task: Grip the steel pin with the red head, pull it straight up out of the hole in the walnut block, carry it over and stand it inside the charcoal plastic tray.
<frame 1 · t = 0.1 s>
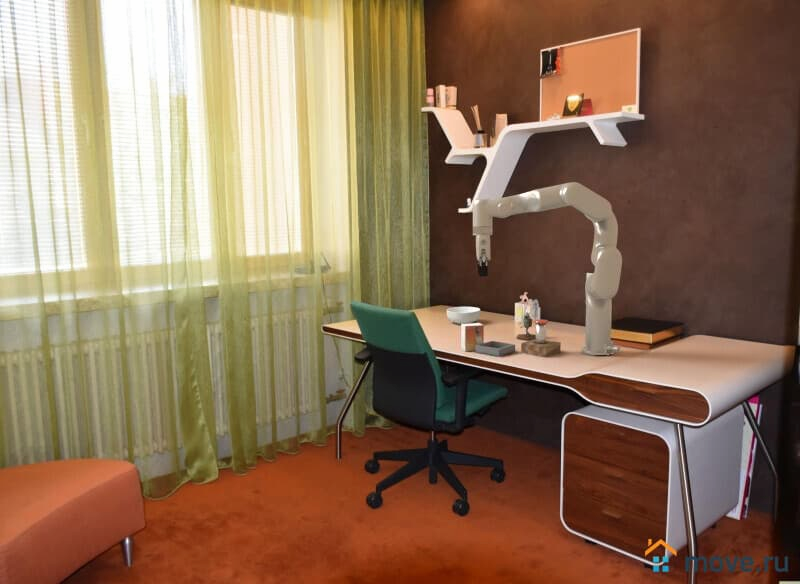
hand: (482, 275, 255), 31 cm above the table, tool pointing down, fingers open, 9 cm apart
small box: (472, 350, 265), on the table
pin: (541, 336, 257), in the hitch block
tray: (495, 352, 259), on the table
cereal bowl: (463, 323, 322), on the table
bonsai tree: (528, 338, 285), on the table
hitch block: (540, 352, 258), on the table
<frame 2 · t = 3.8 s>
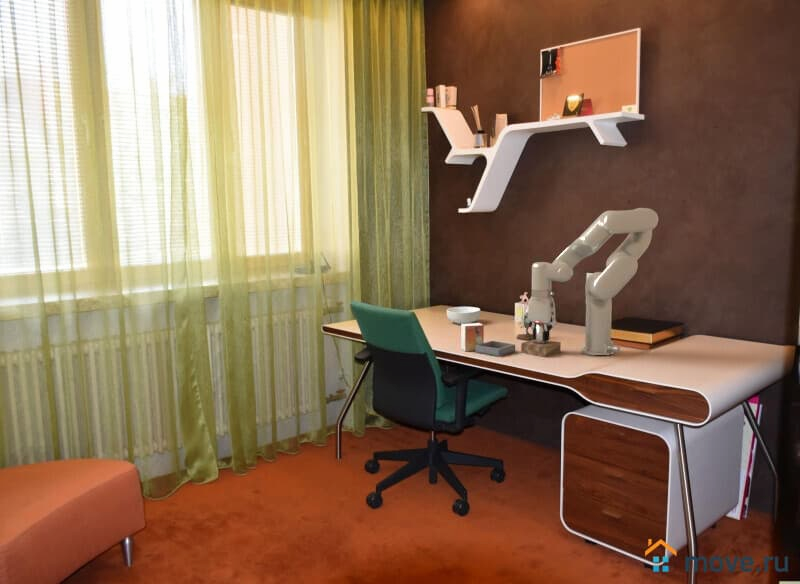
hand: (540, 339, 257), 5 cm above the table, tool pointing down, fingers closed on pin, 4 cm apart
pin: (540, 336, 257), in the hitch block, touching gripper
everything else where it was.
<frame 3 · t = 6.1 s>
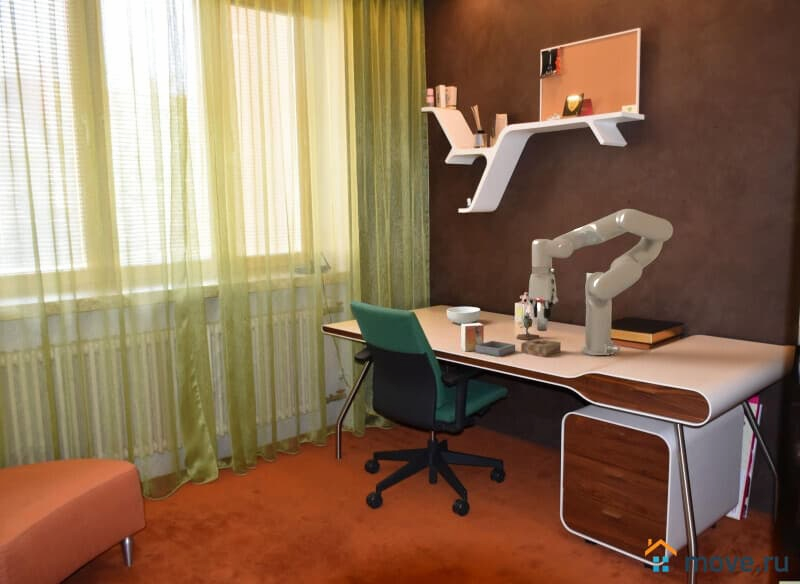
hand: (542, 316, 256), 14 cm above the table, tool pointing down, fingers closed on pin, 4 cm apart
pin: (542, 314, 255), point 15 cm above the table, touching gripper
everything else where it was.
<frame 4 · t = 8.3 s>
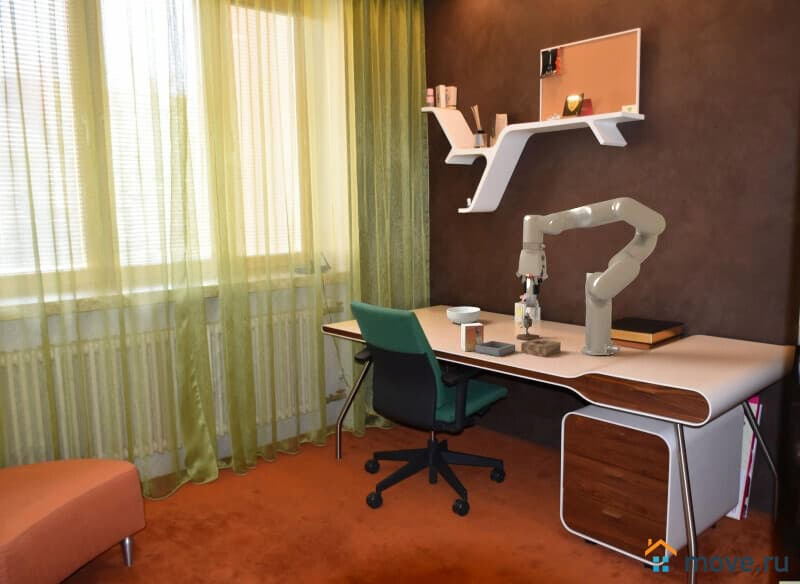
hand: (531, 293, 255), 24 cm above the table, tool pointing down, fingers closed on pin, 4 cm apart
pin: (531, 290, 255), point 25 cm above the table, touching gripper
everything else where it was.
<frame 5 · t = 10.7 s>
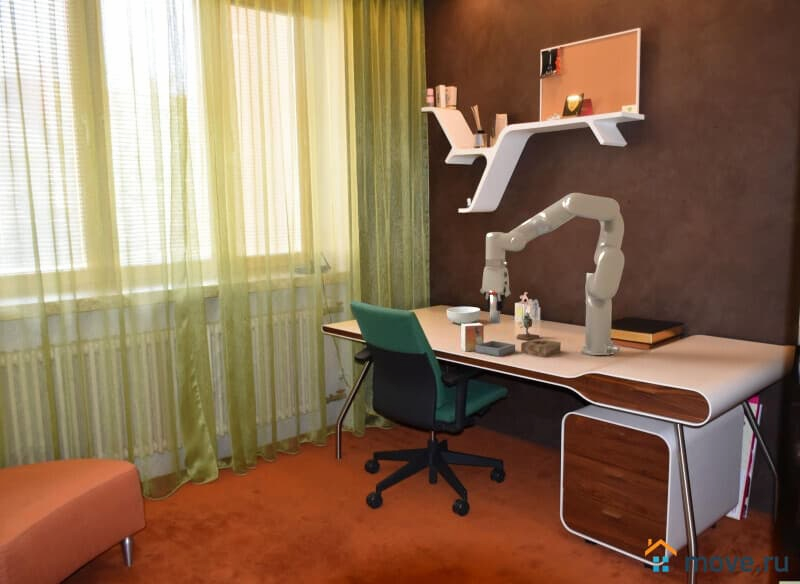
hand: (494, 309, 257), 17 cm above the table, tool pointing down, fingers closed on pin, 4 cm apart
pin: (494, 306, 257), point 18 cm above the table, touching gripper
everything else where it was.
when the fingers open (7 cm above the table, at t = 12.7 s): pin drops 1 cm, resting on tray.
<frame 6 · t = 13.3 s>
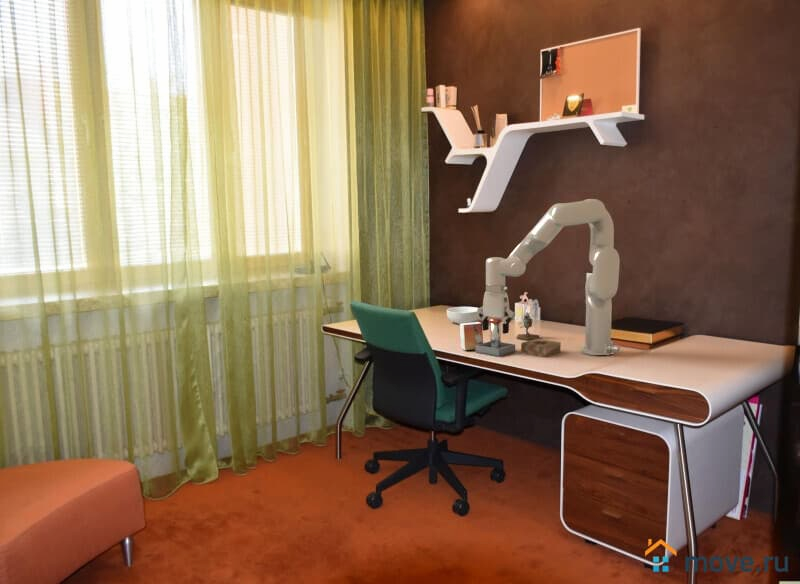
hand: (495, 331, 258), 8 cm above the table, tool pointing down, fingers open, 9 cm apart
small box: (472, 349, 265), on the table, touching gripper
pin: (495, 335, 259), in the tray, point 7 cm above the table
everything else where it was.
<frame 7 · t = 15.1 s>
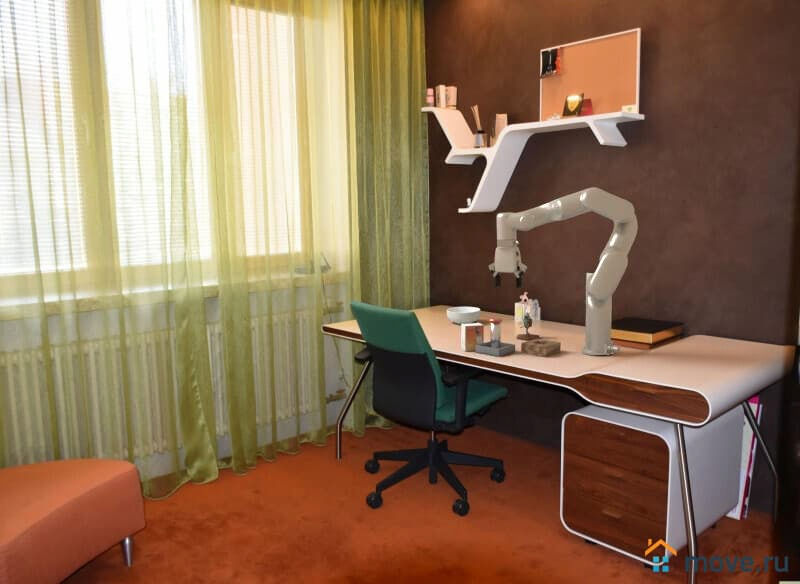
hand: (507, 286, 260), 26 cm above the table, tool pointing down, fingers open, 9 cm apart
small box: (472, 350, 265), on the table
everything else where it was.
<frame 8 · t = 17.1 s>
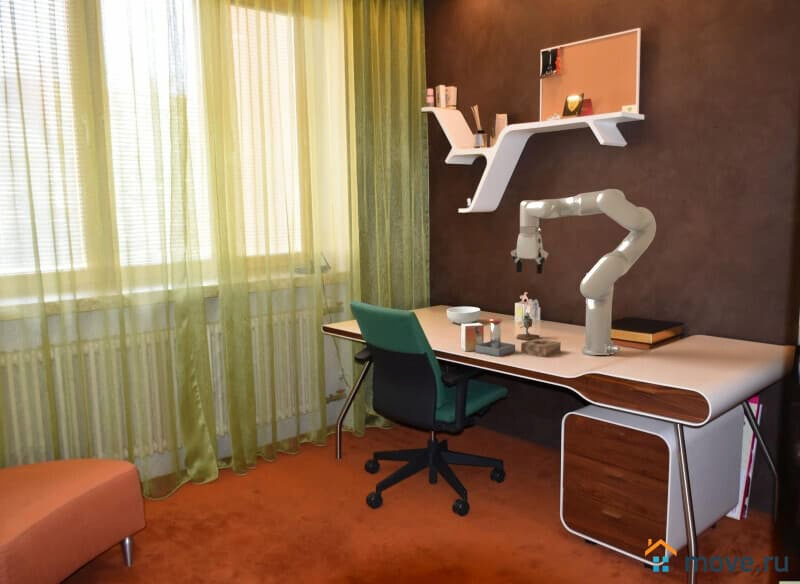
hand: (528, 272, 267), 30 cm above the table, tool pointing down, fingers open, 9 cm apart
nothing on the table moved.
at the end: pin inside the target area on the tray (0.0 cm from its centre), point 7.0 cm above the tray's base; pin tilted 0°; the gripper is holding nothing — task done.
